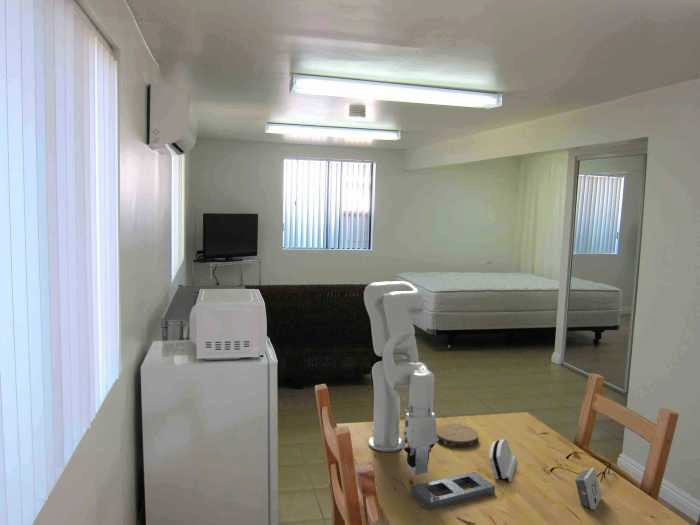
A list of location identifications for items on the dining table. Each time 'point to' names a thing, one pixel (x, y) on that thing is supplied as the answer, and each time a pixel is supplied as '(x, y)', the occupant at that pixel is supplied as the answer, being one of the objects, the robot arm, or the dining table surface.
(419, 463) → the steel block
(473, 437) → the wood slice
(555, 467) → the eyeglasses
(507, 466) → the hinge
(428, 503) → the grey tray with holes
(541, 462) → the dining table surface
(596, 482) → the electrical switch
